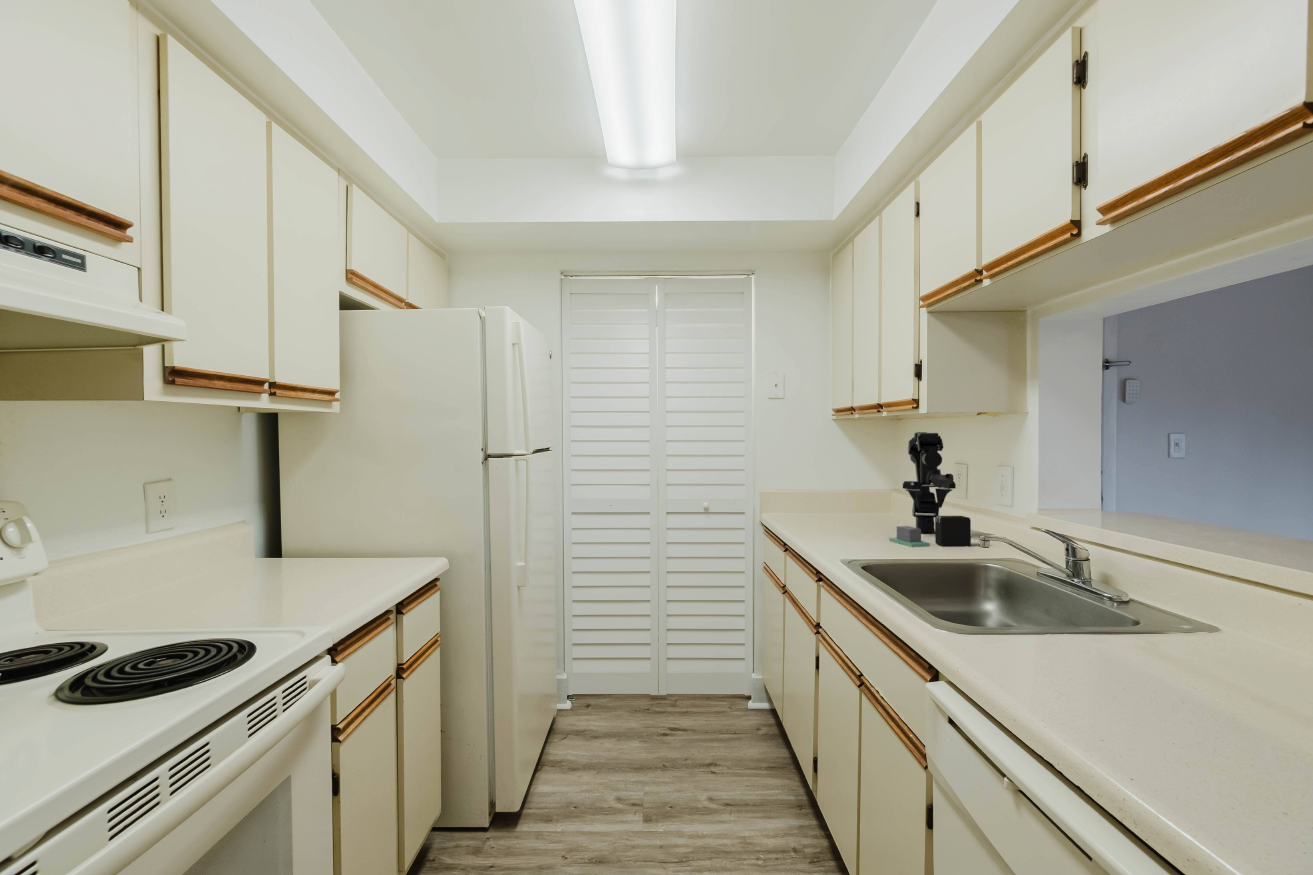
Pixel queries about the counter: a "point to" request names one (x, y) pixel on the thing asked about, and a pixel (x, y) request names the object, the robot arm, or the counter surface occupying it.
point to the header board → (912, 544)
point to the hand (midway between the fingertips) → (929, 508)
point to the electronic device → (952, 531)
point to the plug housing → (908, 534)
